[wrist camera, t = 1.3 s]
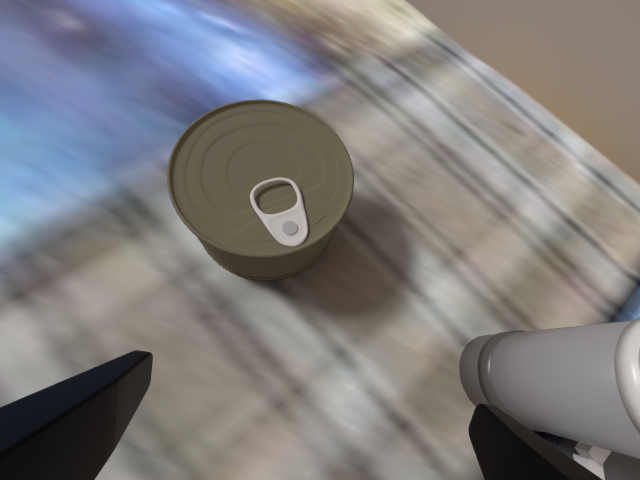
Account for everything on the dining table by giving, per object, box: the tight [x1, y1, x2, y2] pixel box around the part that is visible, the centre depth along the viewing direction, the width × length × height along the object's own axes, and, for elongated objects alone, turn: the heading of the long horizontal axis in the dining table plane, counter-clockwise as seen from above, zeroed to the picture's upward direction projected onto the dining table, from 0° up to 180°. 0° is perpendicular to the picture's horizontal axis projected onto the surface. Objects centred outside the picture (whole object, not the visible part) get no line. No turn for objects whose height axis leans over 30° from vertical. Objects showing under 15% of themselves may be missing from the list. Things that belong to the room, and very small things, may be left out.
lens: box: [460, 318, 640, 459], centre depth 17 cm, size 6×6×14 cm
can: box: [167, 100, 354, 280], centre depth 23 cm, size 12×12×7 cm
